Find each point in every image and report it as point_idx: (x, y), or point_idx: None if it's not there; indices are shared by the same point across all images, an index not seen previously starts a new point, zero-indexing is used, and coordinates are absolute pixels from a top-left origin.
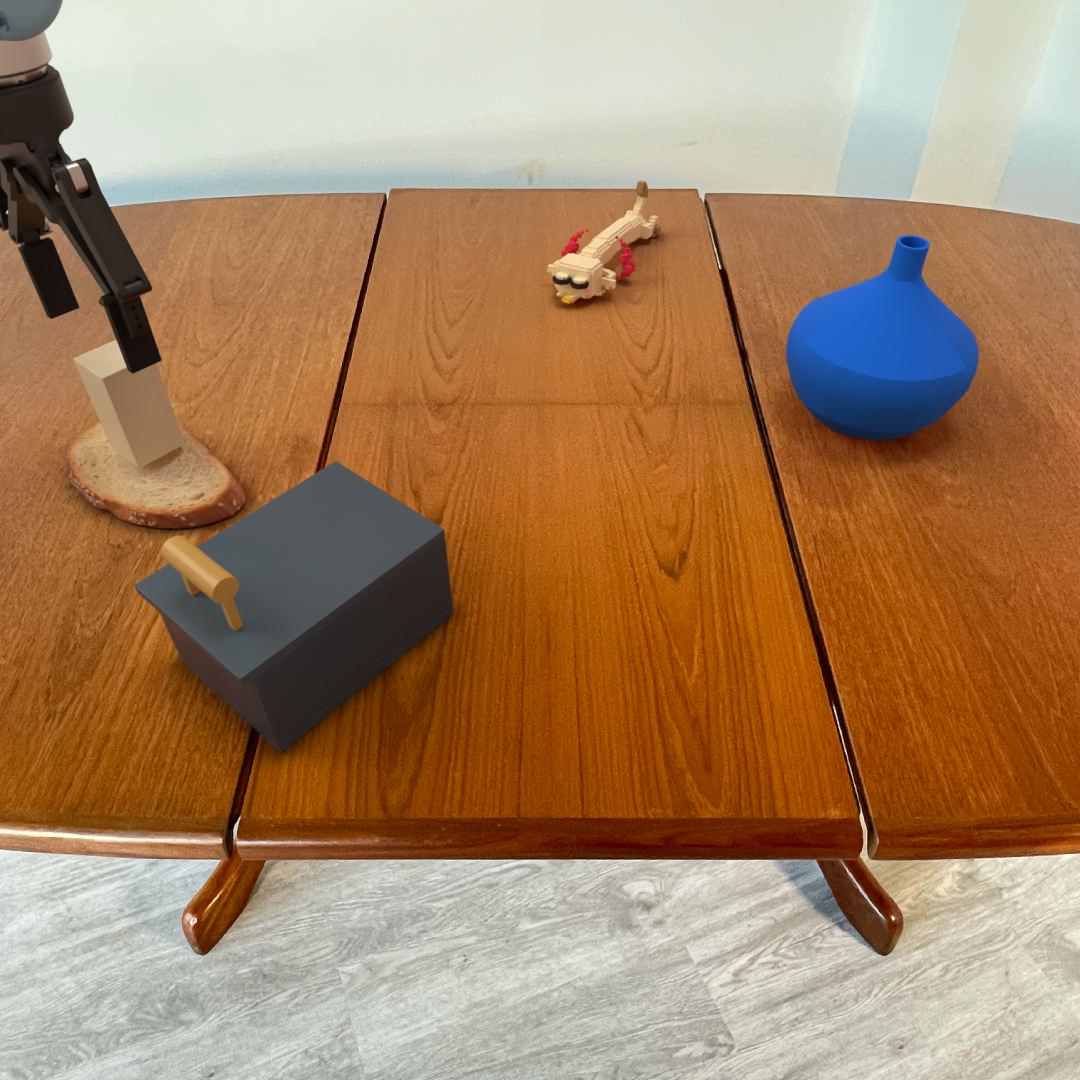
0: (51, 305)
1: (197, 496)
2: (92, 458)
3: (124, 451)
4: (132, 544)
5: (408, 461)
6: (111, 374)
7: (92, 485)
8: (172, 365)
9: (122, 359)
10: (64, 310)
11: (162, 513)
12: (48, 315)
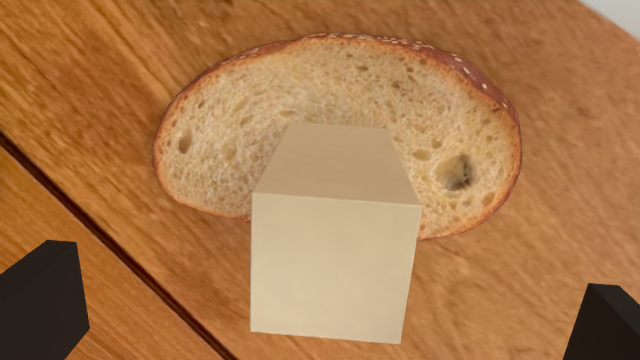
0: (609, 330)
1: (189, 143)
2: (412, 94)
3: (325, 128)
4: (215, 17)
5: (87, 355)
6: (252, 220)
7: (345, 48)
8: (554, 332)
9: (294, 278)
10: (579, 335)
11: (195, 82)
12: (606, 290)
